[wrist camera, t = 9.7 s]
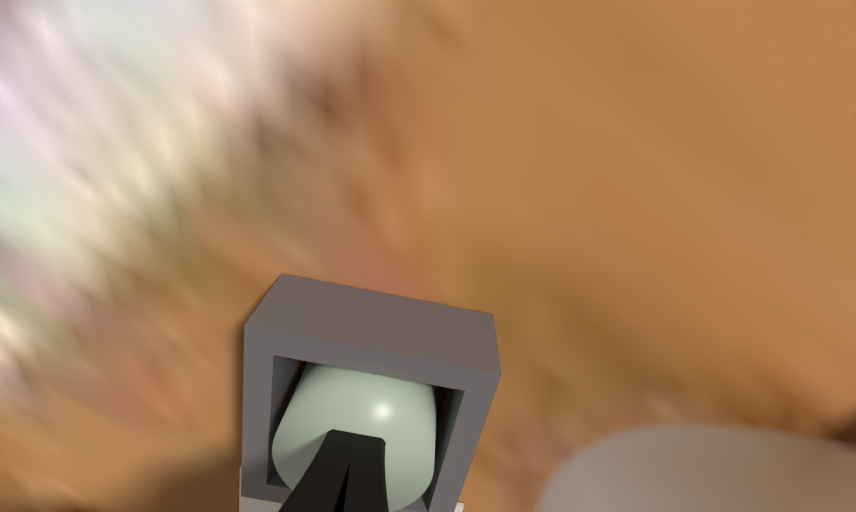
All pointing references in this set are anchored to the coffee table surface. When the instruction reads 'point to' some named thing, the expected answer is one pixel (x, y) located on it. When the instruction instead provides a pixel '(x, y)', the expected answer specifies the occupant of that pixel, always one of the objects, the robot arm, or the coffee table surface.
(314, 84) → the coffee table surface
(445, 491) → the button housing
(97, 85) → the coffee table surface
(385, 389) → the button
